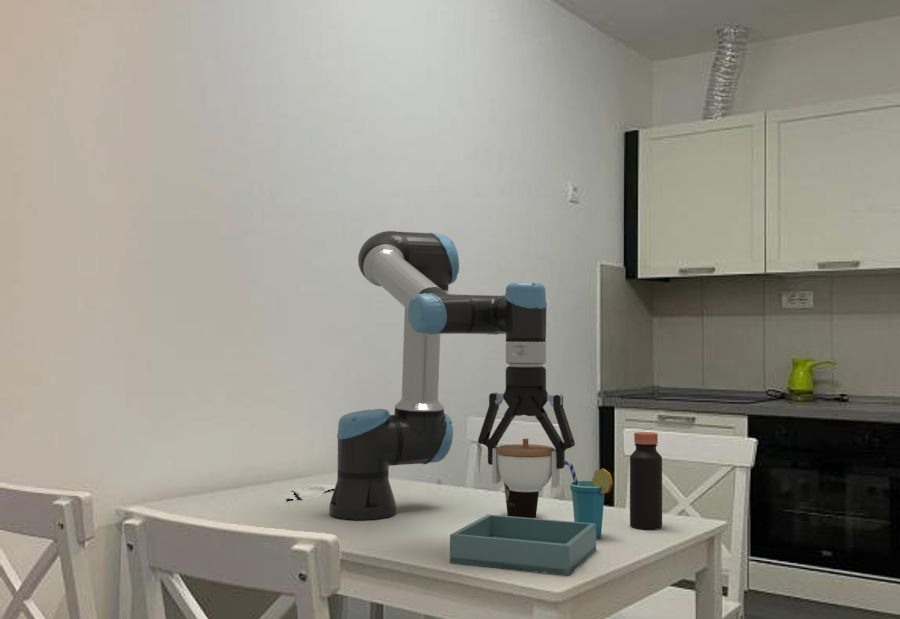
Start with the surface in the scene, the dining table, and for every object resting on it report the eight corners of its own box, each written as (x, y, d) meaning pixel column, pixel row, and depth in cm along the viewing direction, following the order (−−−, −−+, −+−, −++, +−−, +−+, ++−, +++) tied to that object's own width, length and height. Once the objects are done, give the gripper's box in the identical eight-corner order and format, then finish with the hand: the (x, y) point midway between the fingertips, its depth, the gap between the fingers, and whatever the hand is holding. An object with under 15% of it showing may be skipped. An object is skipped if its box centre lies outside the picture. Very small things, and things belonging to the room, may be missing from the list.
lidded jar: (538, 496, 161) (538, 443, 161) (486, 491, 166) (486, 439, 167) (564, 488, 170) (564, 437, 170) (513, 483, 175) (513, 434, 176)
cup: (545, 534, 186) (545, 461, 186) (563, 528, 192) (564, 457, 193) (606, 544, 178) (606, 467, 178) (624, 537, 184) (624, 463, 184)
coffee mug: (538, 521, 199) (539, 475, 199) (500, 519, 201) (500, 474, 201) (544, 511, 210) (544, 468, 211) (507, 509, 212) (507, 466, 212)
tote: (449, 562, 163) (450, 534, 163) (487, 539, 181) (487, 514, 181) (569, 575, 154) (569, 546, 154) (596, 549, 173) (596, 523, 173)
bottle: (667, 529, 191) (667, 434, 192) (636, 530, 190) (636, 435, 191) (654, 523, 198) (654, 431, 199) (625, 523, 197) (625, 431, 197)
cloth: (323, 486, 247) (323, 478, 247) (362, 491, 240) (362, 482, 240) (252, 500, 226) (252, 491, 226) (292, 506, 218) (292, 497, 218)
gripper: (460, 365, 170) (460, 483, 169) (581, 367, 161) (582, 491, 160) (474, 364, 177) (474, 477, 176) (591, 365, 168) (592, 485, 167)
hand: (525, 484), depth 168 cm, fingers closed on lidded jar, 11 cm apart
